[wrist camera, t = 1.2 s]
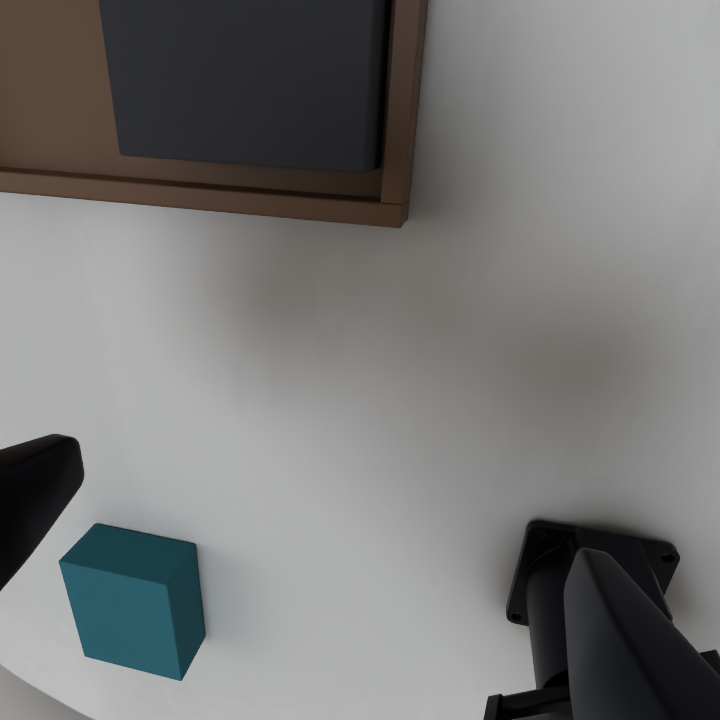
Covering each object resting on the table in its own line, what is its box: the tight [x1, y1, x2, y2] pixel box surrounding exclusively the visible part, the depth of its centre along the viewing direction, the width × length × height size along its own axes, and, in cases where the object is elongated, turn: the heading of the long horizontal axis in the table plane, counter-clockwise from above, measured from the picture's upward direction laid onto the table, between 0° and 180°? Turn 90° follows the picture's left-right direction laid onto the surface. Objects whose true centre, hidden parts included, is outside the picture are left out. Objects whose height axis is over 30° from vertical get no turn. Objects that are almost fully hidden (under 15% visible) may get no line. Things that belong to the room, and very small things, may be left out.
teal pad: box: [59, 524, 205, 681], centre depth 30 cm, size 8×6×3 cm
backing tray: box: [0, 0, 428, 228], centre depth 17 cm, size 12×20×2 cm, turn 87°
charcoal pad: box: [98, 0, 392, 174], centre depth 16 cm, size 8×8×3 cm
